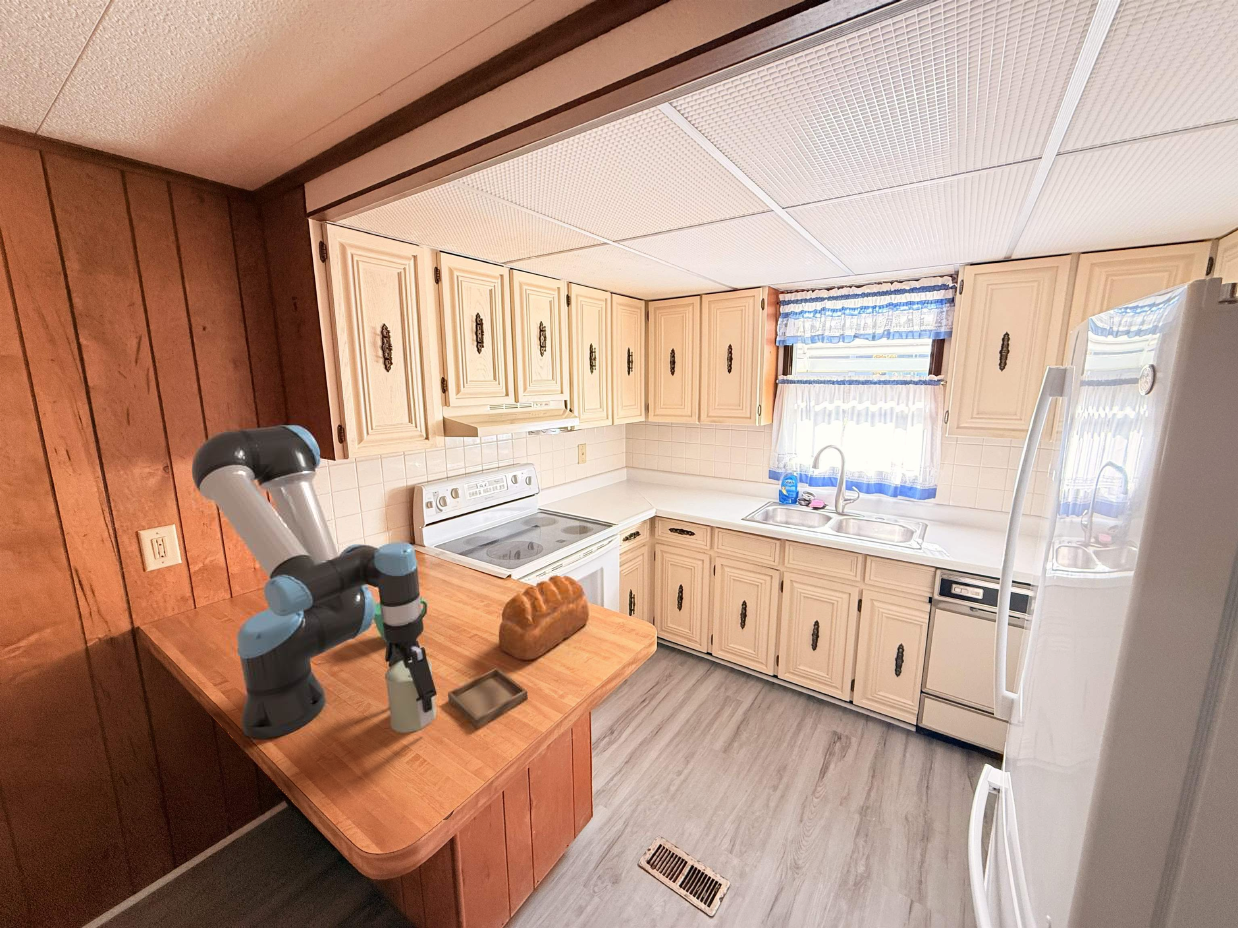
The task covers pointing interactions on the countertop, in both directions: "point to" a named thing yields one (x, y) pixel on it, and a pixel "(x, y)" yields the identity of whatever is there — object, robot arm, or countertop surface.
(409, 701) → the can
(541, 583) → the bread
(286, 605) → the robot arm
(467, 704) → the tray
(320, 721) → the countertop surface
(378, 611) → the mug
